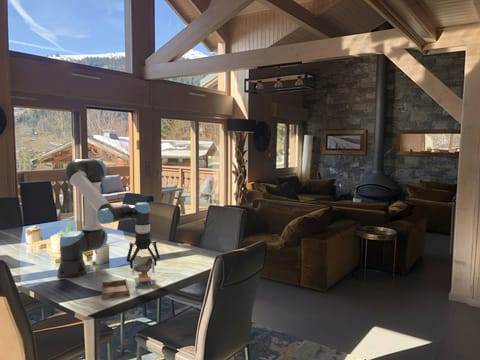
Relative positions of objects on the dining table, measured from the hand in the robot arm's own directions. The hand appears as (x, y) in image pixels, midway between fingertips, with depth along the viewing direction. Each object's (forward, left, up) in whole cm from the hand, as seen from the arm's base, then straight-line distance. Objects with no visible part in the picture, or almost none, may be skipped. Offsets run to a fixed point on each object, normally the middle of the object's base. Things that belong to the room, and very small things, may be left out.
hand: (143, 272), depth 201 cm
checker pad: (0, 0, -3) cm, 3 cm away
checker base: (0, 0, -5) cm, 5 cm away
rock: (0, +4, -1) cm, 4 cm away
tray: (-15, -7, -5) cm, 17 cm away
